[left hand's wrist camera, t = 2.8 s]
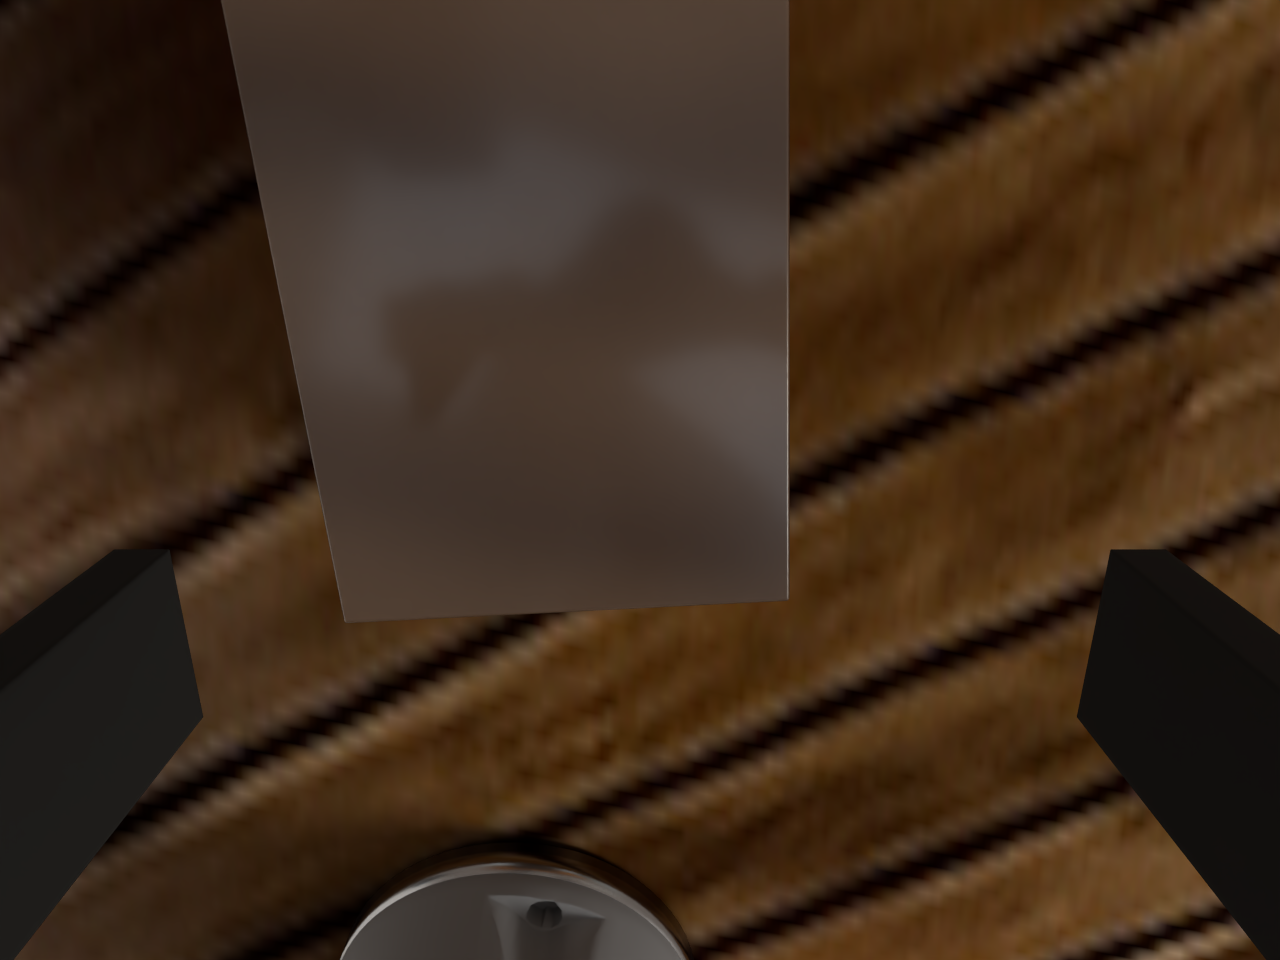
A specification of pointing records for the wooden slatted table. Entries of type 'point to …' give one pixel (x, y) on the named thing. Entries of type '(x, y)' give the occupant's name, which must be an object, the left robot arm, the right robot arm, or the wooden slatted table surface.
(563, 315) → the cabinet
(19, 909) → the left robot arm
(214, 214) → the wooden slatted table surface
